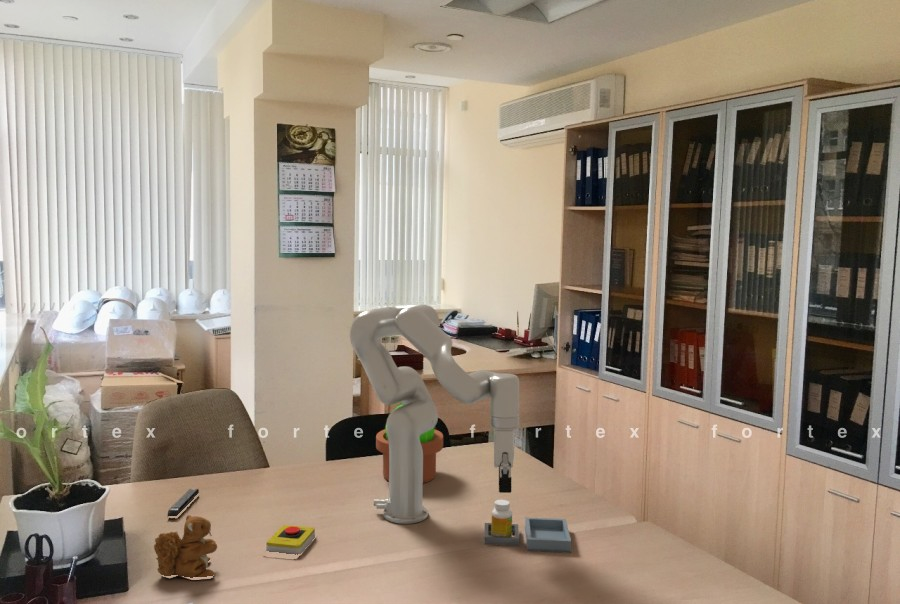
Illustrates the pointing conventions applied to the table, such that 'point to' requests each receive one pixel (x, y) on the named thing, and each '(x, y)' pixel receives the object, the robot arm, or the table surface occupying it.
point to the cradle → (501, 537)
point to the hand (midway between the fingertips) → (504, 485)
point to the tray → (547, 535)
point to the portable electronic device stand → (183, 502)
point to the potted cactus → (430, 447)
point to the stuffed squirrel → (186, 550)
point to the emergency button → (291, 539)
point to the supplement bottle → (501, 519)
